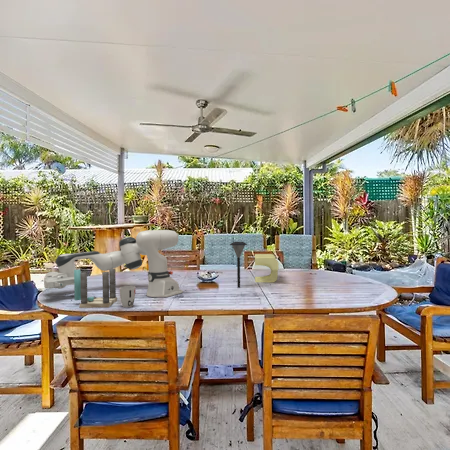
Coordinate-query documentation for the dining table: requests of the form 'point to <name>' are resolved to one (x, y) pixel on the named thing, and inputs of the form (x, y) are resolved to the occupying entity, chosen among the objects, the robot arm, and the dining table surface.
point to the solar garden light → (238, 257)
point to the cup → (127, 296)
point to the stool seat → (105, 300)
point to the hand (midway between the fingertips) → (69, 283)
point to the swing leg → (78, 286)
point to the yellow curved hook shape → (267, 261)
